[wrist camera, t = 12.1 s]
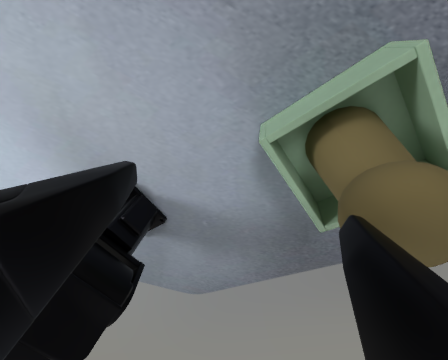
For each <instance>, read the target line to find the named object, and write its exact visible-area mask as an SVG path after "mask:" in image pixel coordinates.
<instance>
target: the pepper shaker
mask: <svg viewBox="0 0 448 360" xmlns="http://www.w3.org/2000/svg"><path fill="white" fill-rule="evenodd" d="M305 150H306V155H307V158H308V160H309V162H310V163H311V165H312V166H313V167H314V169H315V170H316V172H317V173H318V174H319V176H320V177H321V178H322V180H323V181H324V183H325V184H326V185H327V187H328V188H329V189H330V191H331V192H332V193H333V195H334V196H335V198H336V199H337V200H338V223H339V226H340V229H341V227H342V225H343V224H344V222H345V221H346V219H347V218H348V217H349V216H350V215H356V216H360V217H362V218H364V219H365V220H367V221H368V222H369V223H370V224H372V225H373V226H374V227H376V228H377V229H378V230H380V231H381V232H382V233H383V234H385V235H386V236H387V237H389V238H390V239H391V240H393V241H394V242H395V243H397V244H398V245H399V246H400V247H402V248H403V249H404V250H406V251H407V252H408V253H410V254H411V255H412V256H413V257H415V258H416V259H417V260H419V261H420V262H421V263H423V264H424V265H425V266H427V267H434V266H437V265H440V264H443V263H446V262H448V171H447V170H445V169H443V168H441V167H439V166H436V165H432V164H429V163H425V162H417V161H416V160H415V159H414V158H413V156H412V155H411V154H410V153H409V152H408V151H407V149H406V148H405V147H404V146H403V145H402V143H401V142H400V141H399V140H398V139H397V138H396V136H395V135H394V134H393V133H392V132H391V130H390V129H389V128H388V127H387V126H386V124H385V123H384V122H383V121H382V120H381V119H380V118H379V116H378V115H377V114H376V113H375V112H373V111H371V110H369V109H367V108H364V107H356V106H348V107H343V108H338V109H335V110H333V111H331V112H329V113H327V114H325V115H324V116H323V117H322V118H320V119H319V120H318V121H317V122H316V123H315V124H314V125H313V127H312V128H311V130H310V131H309V133H308V135H307V139H306V143H305Z"/></svg>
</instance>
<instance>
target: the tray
mask: <svg viewBox="0 0 448 360" xmlns="http://www.w3.org/2000/svg"><path fill="white" fill-rule="evenodd" d="M348 106H356V107H364V108H367V109H369V110H371V111H373V112H375V113H376V114H377V115H378V116H379V118H380V119H381V120H382V121H383V122H384V123H385V124H386V126H387V127H388V128H389V129H390V130H391V132H392V133H393V134H394V135H395V136H396V138H397V139H398V140H399V141H400V142H401V143H402V145H403V146H404V147H405V148H406V149H407V151H408V152H409V153H410V154H411V155H412V156H413V158H414V159H415V160H416V161H417V162H425V163H429V164H432V165H436V166H439V167H441V168H443V169H445V170H447V171H448V106H447V103H446V100H445V96H444V93H443V89H442V86H441V82H440V79H439V76H438V72H437V69H436V65H435V62H434V58H433V55H432V51H431V48H430V45H429V41H428V39H425V40H411V41H396V42H389V43H387V44H386V45H384V46H383V47H381V48H380V49H378V50H377V51H375V52H373V53H372V54H370V55H369V56H367V57H366V58H364V59H362V60H361V61H359V62H358V63H356V64H355V65H353V66H352V67H350V68H348V69H347V70H345V71H344V72H342V73H341V74H339V75H338V76H336V77H334V78H333V79H331V80H330V81H328V82H327V83H325V84H323V85H322V86H320V87H319V88H317V89H316V90H314V91H313V92H311V93H309V94H308V95H306V96H305V97H303V98H302V99H300V100H298V101H297V102H295V103H294V104H292V105H291V106H289V107H288V108H286V109H284V110H283V111H281V112H280V113H278V114H277V115H275V116H273V117H272V118H270V119H269V120H267V121H266V122H264V123H263V124H261V126H260V135H259V143H260V144H261V146H262V147H263V149H264V150H265V152H266V153H267V155H268V156H269V158H270V159H271V161H272V162H273V164H274V165H275V166H276V168H277V169H278V171H279V172H280V174H281V175H282V177H283V178H284V180H285V181H286V183H287V184H288V186H289V187H290V189H291V190H292V192H293V193H294V195H295V196H296V198H297V199H298V200H299V202H300V203H301V205H302V206H303V208H304V209H305V211H306V212H307V214H308V215H309V217H310V218H311V220H312V221H313V223H314V224H315V226H316V227H317V229H318V230H319V232H320V233H322V232H325V231H328V230H331V229H334V228H337V227H340V226H339V223H338V200H337V199H336V198H335V196H334V195H333V193H332V192H331V191H330V189H329V188H328V187H327V185H326V184H325V183H324V181H323V180H322V178H321V177H320V176H319V174H318V173H317V172H316V170H315V169H314V167H313V166H312V165H311V163H310V162H309V160H308V158H307V155H306V150H305V143H306V139H307V135H308V133H309V131H310V130H311V128H312V127H313V125H314V124H315V123H316V122H317V121H318V120H319V119H320V118H322V117H323V116H324V115H325V114H327V113H329V112H331V111H333V110H335V109H338V108H343V107H348Z"/></svg>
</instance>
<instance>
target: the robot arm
mask: <svg viewBox="0 0 448 360" xmlns="http://www.w3.org/2000/svg"><path fill="white" fill-rule="evenodd" d="M136 183H137V170H136V164H135V163H133V162H128V161H123V162H118V163H114V164H110V165H105V166H101V167H97V168H93V169H88V170H84V171H80V172H76V173H71V174H67V175H63V176H59V177H54V178H50V179H46V180H42V181H37V182H33V183H29V184H28V185H27V184H24V185H20V186H16V187H11V188H7V189H2V190H0V360H84V359H85V358H86V357H87V356H88V355H89V353H90V352H91V350H92V349H93V347H94V345H95V344H96V342H97V341H98V339H99V338H100V336H101V334H102V333H103V331H104V330H105V329H106V327H108V326H110V325H111V324H113V323H114V322H115V321H116V320H117V319H118V318H119V317H120V315H121V314H122V313H123V312H124V310H125V309H126V307H127V305H128V304H129V302H130V300H131V299H132V296H133V294H134V292H135V289H136V287H137V284H138V281H139V279H140V276H141V274H142V271H143V269H144V266H145V265H144V264H143V263H142V262H139V261H138V260H137V259H135V258H134V257H133V256H131V255H132V254H133V252H134V251H135V249H136V248H137V246H138V245H139V243H140V242H141V240H142V239H143V237H144V236H145V234H146V233H147V232H148V231H150V230H151V229H153V228H155V227H157V226H159V225H161V224H163V223H165V221H166V217H165V216H164V215H163V214H162V213H161V212H160V211H159V210H158V209H157V208H156V207H155V206H154V205H153V204H152V203H151V202H150V201H149V200H148V199H147V198H146V197H145V196H144V195H143V194H142V193H141V192H140V191H139V190H138V189H137V188H136V187H135V185H136ZM339 238H340V246H341V254H342V262H343V269H344V273H345V278H346V282H347V286H348V290H349V294H350V298H351V302H352V306H353V311H354V315H355V319H356V323H357V327H358V331H359V335H360V339H361V343H362V348H363V352H364V356H365V360H448V283H447V282H446V281H445V280H443V279H442V278H441V277H440V276H438V275H437V274H436V273H434V272H433V271H432V270H430V269H429V268H428V267H427V266H425V265H424V264H423V263H421V262H420V261H419V260H417V259H416V258H415V257H413V256H412V255H411V254H410V253H408V252H407V251H406V250H404V249H403V248H402V247H400V246H399V245H398V244H397V243H395V242H394V241H393V240H391V239H390V238H389V237H387V236H386V235H385V234H383V233H382V232H381V231H380V230H378V229H377V228H376V227H374V226H373V225H372V224H370V223H369V222H368V221H367V220H365V219H364V218H362V217H360V216H356V215H350V216H349V217H348V218H347V219H346V221H345V222H344V224H343V225H342V227H341V229H340V231H339Z"/></svg>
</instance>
